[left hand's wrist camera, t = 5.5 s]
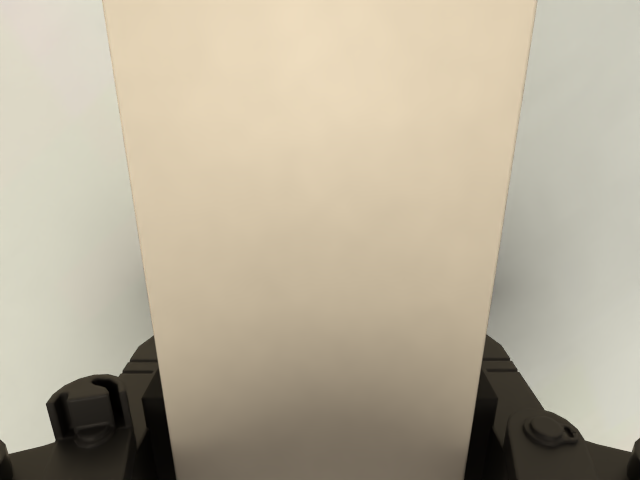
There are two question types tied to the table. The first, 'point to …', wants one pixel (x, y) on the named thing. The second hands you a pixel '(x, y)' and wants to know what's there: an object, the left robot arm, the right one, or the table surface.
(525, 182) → the table surface
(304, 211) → the beam
